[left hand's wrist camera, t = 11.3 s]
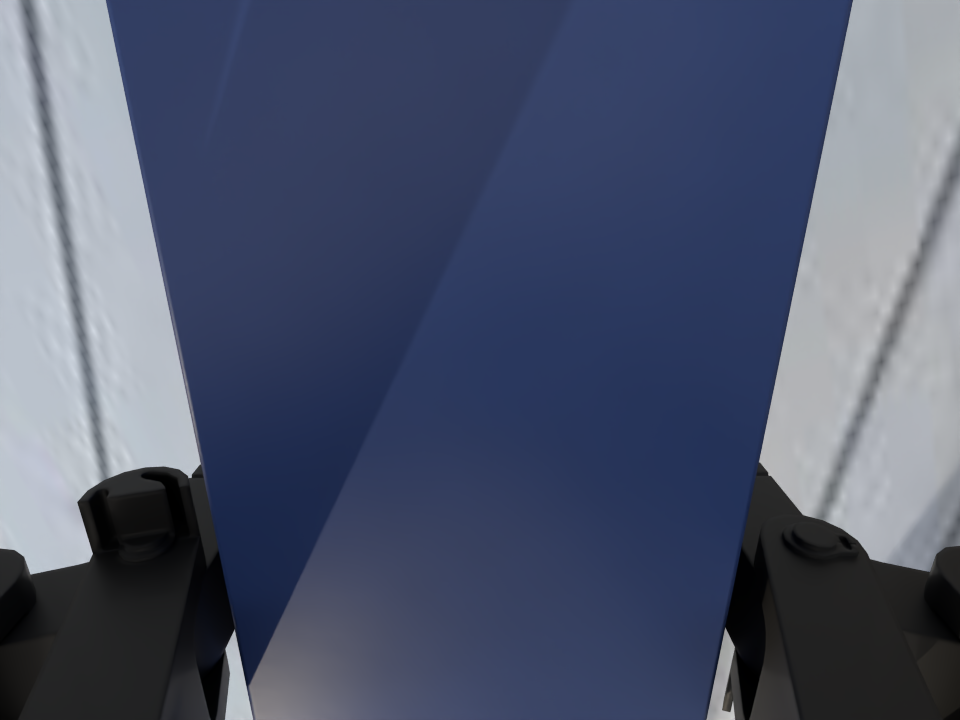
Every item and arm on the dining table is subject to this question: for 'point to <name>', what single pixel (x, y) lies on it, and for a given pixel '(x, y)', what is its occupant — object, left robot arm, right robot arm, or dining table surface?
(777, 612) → the left robot arm
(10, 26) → the dining table surface
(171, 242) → the bar
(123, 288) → the dining table surface
